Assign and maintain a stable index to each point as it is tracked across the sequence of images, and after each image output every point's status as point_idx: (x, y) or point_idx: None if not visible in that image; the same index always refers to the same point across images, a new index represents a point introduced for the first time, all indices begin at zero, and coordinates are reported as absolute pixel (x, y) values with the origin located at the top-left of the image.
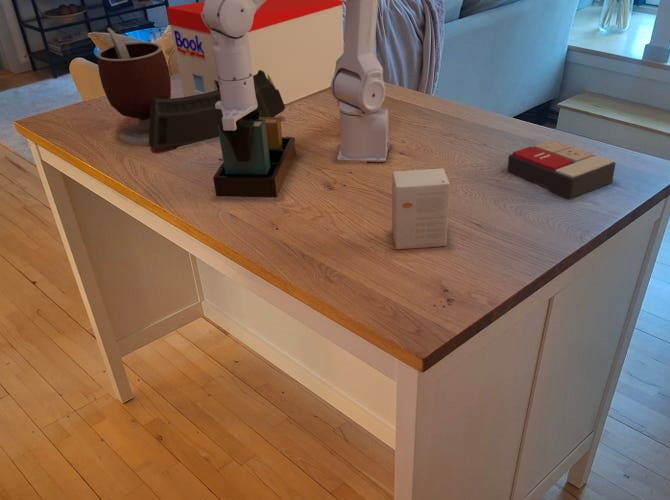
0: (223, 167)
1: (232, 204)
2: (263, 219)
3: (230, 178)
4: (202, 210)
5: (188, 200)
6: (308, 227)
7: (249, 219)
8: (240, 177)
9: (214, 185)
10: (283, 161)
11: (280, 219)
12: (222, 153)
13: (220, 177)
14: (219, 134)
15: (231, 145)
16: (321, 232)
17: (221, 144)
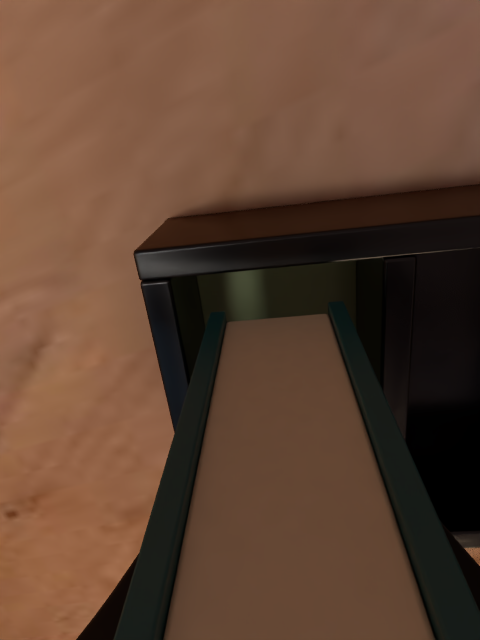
0: (311, 262)
1: (131, 318)
2: (54, 464)
3: (158, 361)
4: (25, 194)
5: (102, 45)
6: (59, 581)
7: (34, 421)
8: (175, 415)
9: (148, 237)
10: None
11: (75, 510)
12: (186, 400)
13: (145, 302)
14: (127, 593)
15: (113, 592)
16: (45, 609)
17: (164, 473)
